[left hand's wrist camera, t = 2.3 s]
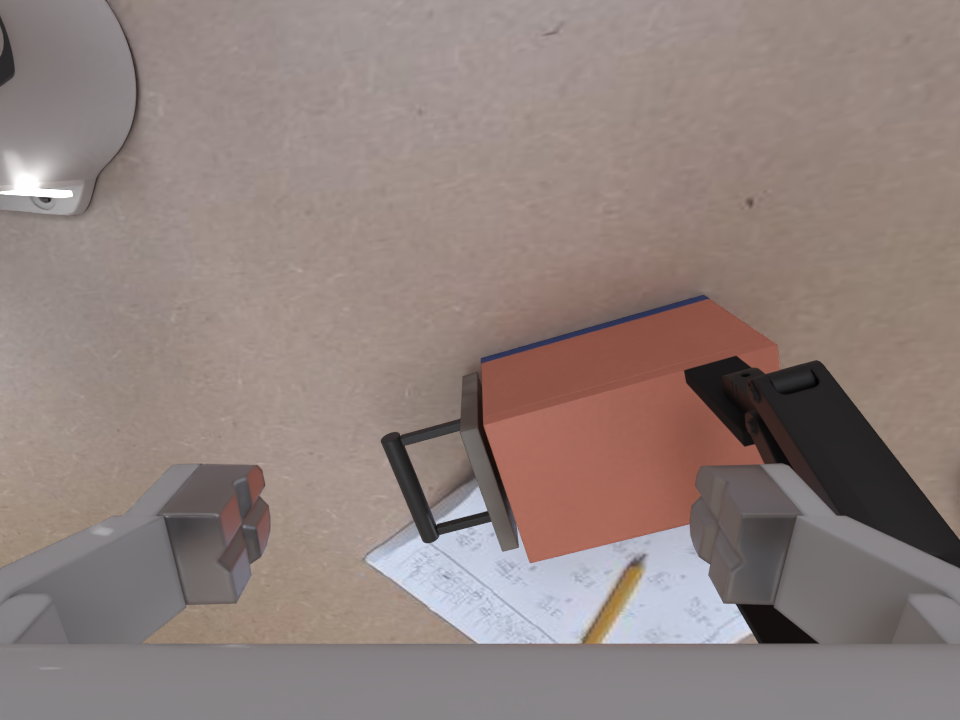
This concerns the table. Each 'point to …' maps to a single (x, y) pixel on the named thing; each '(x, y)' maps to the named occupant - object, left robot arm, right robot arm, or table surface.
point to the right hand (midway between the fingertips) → (727, 476)
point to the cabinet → (613, 424)
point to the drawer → (481, 465)
